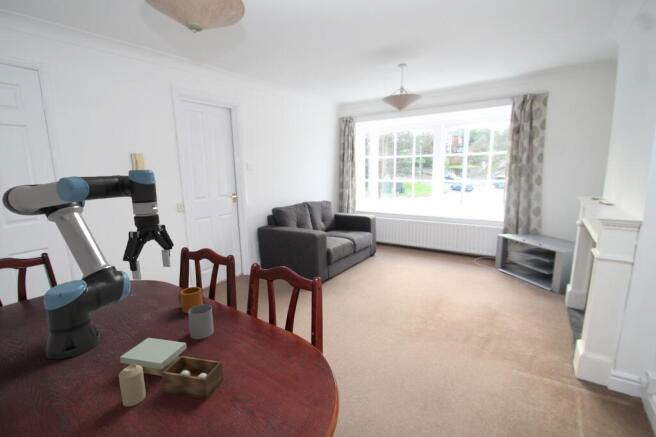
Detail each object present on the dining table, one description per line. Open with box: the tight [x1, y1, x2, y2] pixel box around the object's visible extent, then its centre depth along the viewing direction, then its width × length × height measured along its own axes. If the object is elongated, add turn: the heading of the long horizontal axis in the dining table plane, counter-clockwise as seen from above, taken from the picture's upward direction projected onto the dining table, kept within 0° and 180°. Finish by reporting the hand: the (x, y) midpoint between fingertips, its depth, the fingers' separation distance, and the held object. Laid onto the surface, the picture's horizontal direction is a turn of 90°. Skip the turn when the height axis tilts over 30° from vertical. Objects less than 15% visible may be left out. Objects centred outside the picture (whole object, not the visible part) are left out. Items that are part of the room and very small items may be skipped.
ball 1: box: [180, 370, 191, 376], centre depth 89 cm, size 3×3×3 cm
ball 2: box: [198, 373, 207, 378], centre depth 88 cm, size 3×3×3 cm
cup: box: [187, 304, 214, 340], centre depth 117 cm, size 8×8×10 cm
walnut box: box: [161, 355, 224, 400], centre depth 89 cm, size 14×8×6 cm, turn 77°
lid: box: [119, 337, 187, 369], centre depth 97 cm, size 15×11×2 cm
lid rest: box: [142, 354, 180, 377], centre depth 98 cm, size 12×7×4 cm, turn 77°
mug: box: [177, 286, 204, 314], centre depth 139 cm, size 9×12×9 cm
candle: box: [118, 363, 147, 408], centre depth 83 cm, size 6×6×10 cm
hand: (152, 272), depth 108 cm, fingers open, 13 cm apart
